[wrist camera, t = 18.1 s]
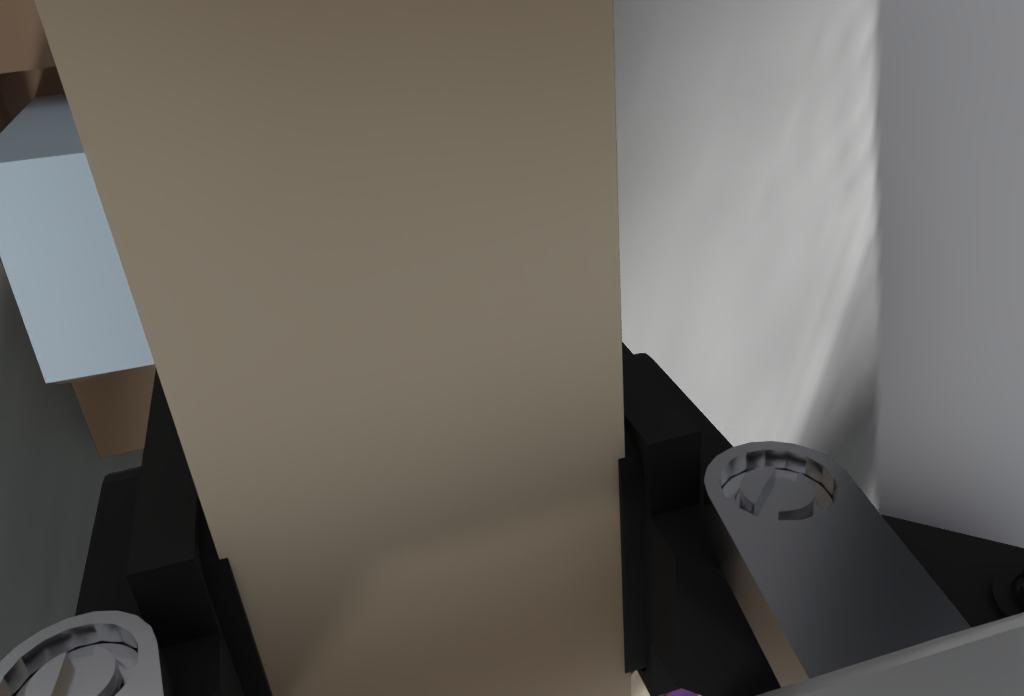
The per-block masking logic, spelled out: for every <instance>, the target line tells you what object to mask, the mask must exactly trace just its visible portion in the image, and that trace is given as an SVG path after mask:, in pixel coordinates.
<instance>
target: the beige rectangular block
mask: <svg viewBox="0 0 1024 696" xmlns="http://www.w3.org/2000/svg"><path fill="white" fill-rule="evenodd" d="M34 1H35V4H36V7H37V10H38V13H39V16H40V19H41V22H42V25H43V28H44V31H45V34H46V37H47V40H48V43H49V46H50V49H51V52H52V55H53V58H54V61H55V64H56V67H57V70H58V73H59V76H60V79H61V82H62V85H63V88H64V91H65V94H66V97H67V100H68V103H69V106H70V109H71V112H72V115H73V119H74V122H75V125H76V128H77V131H78V134H79V137H80V140H81V143H82V146H83V149H84V152H85V155H86V158H87V161H88V164H89V167H90V170H91V173H92V176H93V179H94V182H95V185H96V188H97V191H98V194H99V197H100V200H101V203H102V206H103V209H104V212H105V215H106V218H107V221H108V224H109V227H110V230H111V233H112V236H113V239H114V242H115V245H116V248H117V251H118V254H119V257H120V260H121V263H122V266H123V270H124V273H125V276H126V279H127V282H128V285H129V288H130V291H131V294H132V297H133V300H134V303H135V306H136V309H137V312H138V315H139V318H140V321H141V324H142V327H143V330H144V333H145V336H146V339H147V342H148V345H149V348H150V351H151V354H152V357H153V360H154V363H155V366H156V369H157V372H158V375H159V378H160V381H161V384H162V387H163V390H164V393H165V396H166V399H167V402H168V405H169V408H170V411H171V414H172V417H173V421H174V424H175V427H176V430H177V433H178V436H179V439H180V442H181V445H182V448H183V451H184V454H185V457H186V460H187V463H188V466H189V469H190V472H191V475H192V478H193V481H194V484H195V487H196V490H197V493H198V496H199V499H200V502H201V505H202V508H203V511H204V514H205V517H206V520H207V523H208V526H209V529H210V532H211V535H212V538H213V541H214V544H215V547H216V550H217V553H218V556H219V559H224V558H228V560H229V563H230V566H231V569H232V572H233V575H234V578H235V581H236V584H237V587H238V590H239V593H240V597H241V600H242V603H243V606H244V609H245V612H246V615H247V618H248V621H249V624H250V627H251V630H252V634H253V637H254V640H255V643H256V646H257V649H258V652H259V655H260V658H261V661H262V664H263V667H264V671H265V674H266V677H267V680H268V683H269V686H270V689H271V692H272V695H273V696H631V672H629V673H625V661H624V630H623V598H622V566H621V535H620V503H619V471H618V459H620V458H624V457H625V440H624V403H623V366H622V329H621V291H620V254H619V217H618V180H617V143H616V105H615V68H614V31H613V0H34Z"/></svg>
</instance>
